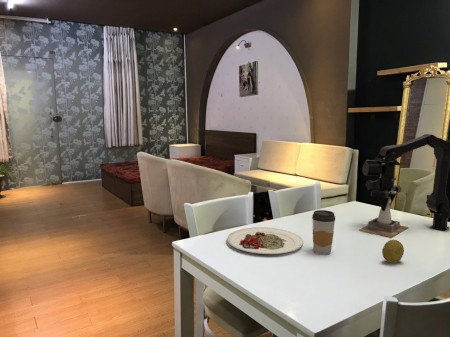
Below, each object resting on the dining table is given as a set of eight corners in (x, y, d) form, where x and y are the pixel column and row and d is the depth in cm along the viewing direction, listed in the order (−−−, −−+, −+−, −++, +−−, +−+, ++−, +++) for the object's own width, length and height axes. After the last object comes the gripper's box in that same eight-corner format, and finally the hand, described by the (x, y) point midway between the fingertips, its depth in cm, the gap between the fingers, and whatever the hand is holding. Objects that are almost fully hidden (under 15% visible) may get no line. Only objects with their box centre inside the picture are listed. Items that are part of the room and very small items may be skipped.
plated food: (313, 239, 147) (313, 231, 147) (284, 264, 122) (285, 255, 122) (249, 227, 163) (249, 220, 163) (212, 247, 138) (212, 238, 137)
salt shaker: (392, 228, 157) (394, 199, 155) (378, 227, 158) (380, 199, 156) (389, 224, 162) (391, 196, 160) (375, 224, 163) (377, 196, 161)
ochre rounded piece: (396, 258, 127) (398, 237, 126) (405, 262, 123) (407, 240, 122) (378, 261, 124) (380, 239, 123) (387, 266, 121) (389, 243, 120)
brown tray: (377, 221, 172) (377, 214, 172) (408, 228, 162) (408, 220, 162) (358, 230, 158) (358, 222, 158) (390, 238, 148) (391, 230, 148)
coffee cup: (334, 249, 136) (336, 210, 134) (333, 257, 128) (335, 216, 126) (311, 246, 138) (313, 208, 136) (309, 254, 131) (311, 214, 129)
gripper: (378, 171, 169) (375, 203, 171) (360, 175, 156) (358, 210, 158) (402, 173, 161) (400, 207, 163) (386, 178, 148) (383, 215, 150)
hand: (385, 209), depth 159 cm, fingers closed on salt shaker, 4 cm apart
